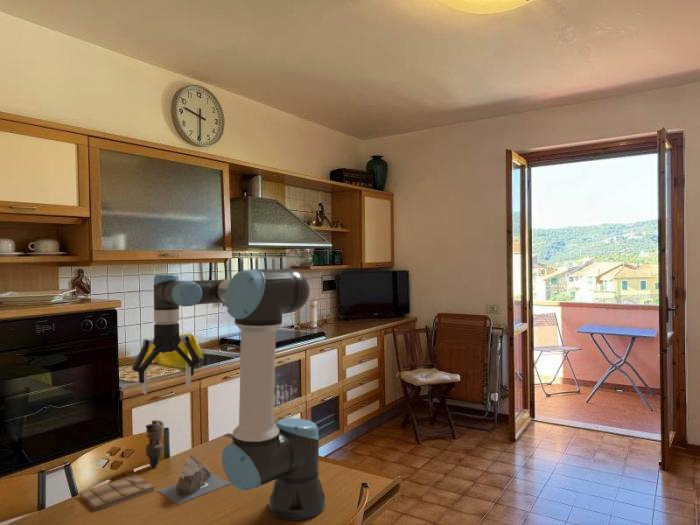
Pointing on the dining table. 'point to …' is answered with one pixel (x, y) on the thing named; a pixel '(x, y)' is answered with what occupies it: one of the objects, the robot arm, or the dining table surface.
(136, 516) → the dining table surface
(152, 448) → the dark grey lumpy column
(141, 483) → the brown flat segmented slab
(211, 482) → the card
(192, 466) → the stone
